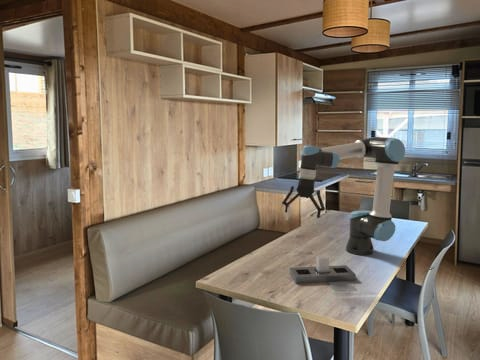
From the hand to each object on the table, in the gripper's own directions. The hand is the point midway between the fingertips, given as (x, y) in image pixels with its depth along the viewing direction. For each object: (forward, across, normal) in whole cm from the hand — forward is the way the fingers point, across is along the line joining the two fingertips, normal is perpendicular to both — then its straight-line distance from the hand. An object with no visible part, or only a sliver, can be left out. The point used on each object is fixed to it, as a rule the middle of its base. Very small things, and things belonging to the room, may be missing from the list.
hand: (301, 222), depth 198 cm
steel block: (+24, +13, -3) cm, 27 cm away
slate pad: (+24, +24, -10) cm, 35 cm away
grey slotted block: (+25, +14, -3) cm, 28 cm away
